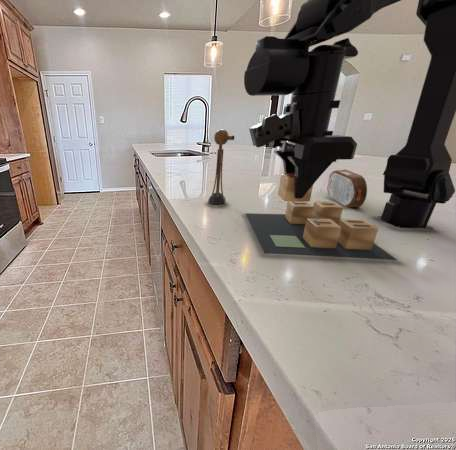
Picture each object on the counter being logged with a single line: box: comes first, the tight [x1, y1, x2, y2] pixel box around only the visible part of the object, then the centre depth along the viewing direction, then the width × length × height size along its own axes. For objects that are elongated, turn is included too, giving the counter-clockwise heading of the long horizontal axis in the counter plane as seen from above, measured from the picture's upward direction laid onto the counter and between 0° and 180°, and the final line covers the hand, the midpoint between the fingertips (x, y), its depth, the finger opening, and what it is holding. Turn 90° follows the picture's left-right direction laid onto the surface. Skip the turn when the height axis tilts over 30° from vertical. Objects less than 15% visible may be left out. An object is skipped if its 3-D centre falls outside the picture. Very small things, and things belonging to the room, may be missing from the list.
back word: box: [285, 200, 344, 224], centre depth 53 cm, size 10×4×4 cm, turn 80°
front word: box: [303, 218, 379, 250], centre depth 43 cm, size 10×4×4 cm, turn 80°
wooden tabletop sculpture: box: [207, 128, 235, 206], centre depth 65 cm, size 6×5×20 cm
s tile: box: [277, 172, 314, 203], centre depth 42 cm, size 4×4×4 cm
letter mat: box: [245, 212, 398, 261], centre depth 49 cm, size 20×20×1 cm
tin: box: [327, 169, 368, 208], centre depth 65 cm, size 15×3×8 cm, turn 168°
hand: (293, 194), depth 43 cm, fingers closed on s tile, 4 cm apart
